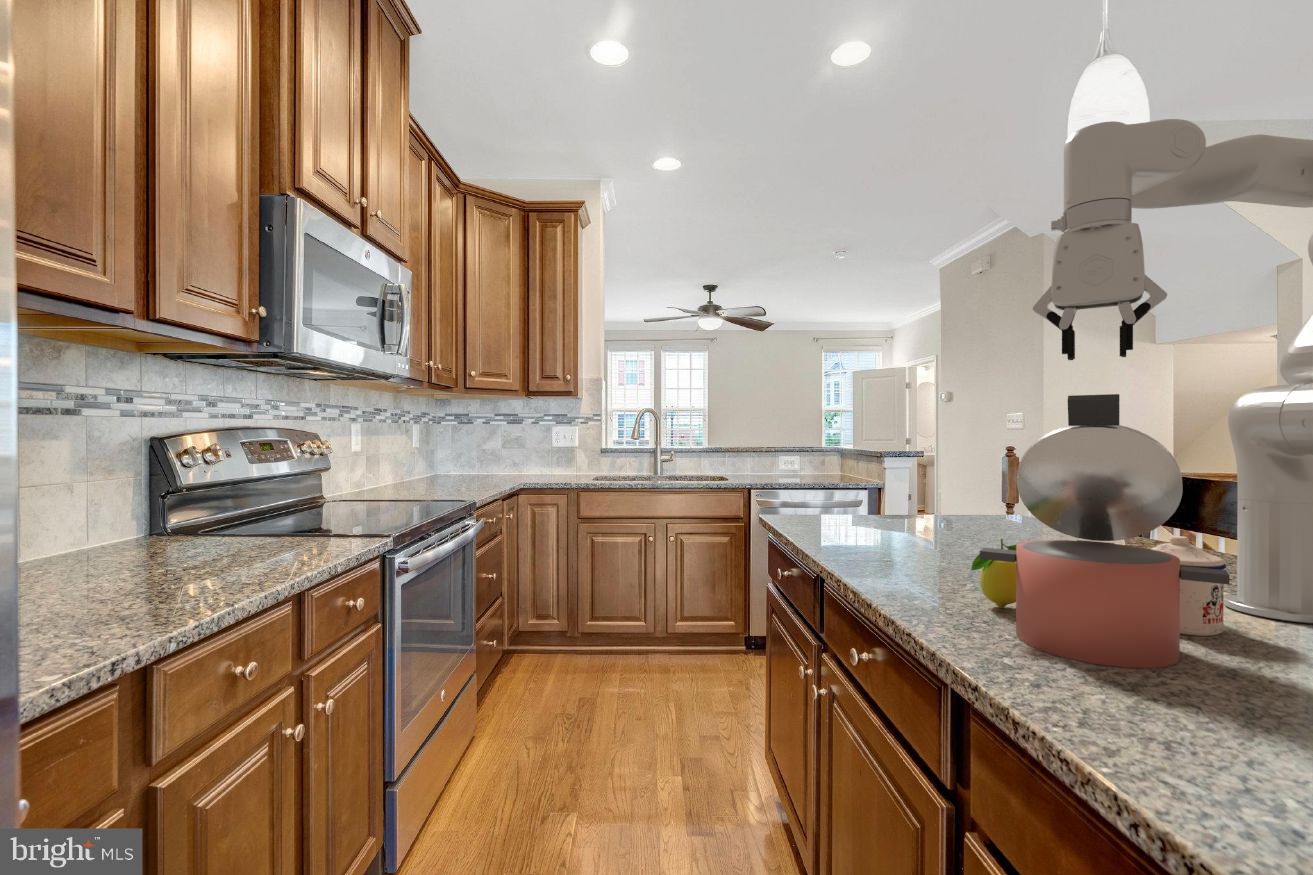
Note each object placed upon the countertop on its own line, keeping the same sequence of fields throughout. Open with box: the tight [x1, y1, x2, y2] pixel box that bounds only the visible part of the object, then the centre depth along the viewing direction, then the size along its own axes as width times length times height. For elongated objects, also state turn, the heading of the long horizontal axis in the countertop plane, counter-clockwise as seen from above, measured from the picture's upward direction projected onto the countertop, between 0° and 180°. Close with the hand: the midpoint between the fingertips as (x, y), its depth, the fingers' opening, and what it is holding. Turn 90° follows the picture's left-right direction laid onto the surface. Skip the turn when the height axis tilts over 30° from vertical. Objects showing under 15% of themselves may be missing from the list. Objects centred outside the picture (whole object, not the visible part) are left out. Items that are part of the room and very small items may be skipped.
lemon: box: [970, 538, 1017, 609], centre depth 91 cm, size 7×6×10 cm
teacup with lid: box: [1150, 535, 1227, 637], centre depth 83 cm, size 12×9×12 cm
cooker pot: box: [979, 539, 1230, 669], centre depth 76 cm, size 17×24×11 cm
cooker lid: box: [1016, 393, 1184, 542], centre depth 79 cm, size 21×17×2 cm
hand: (1096, 356), depth 85 cm, fingers open, 5 cm apart
